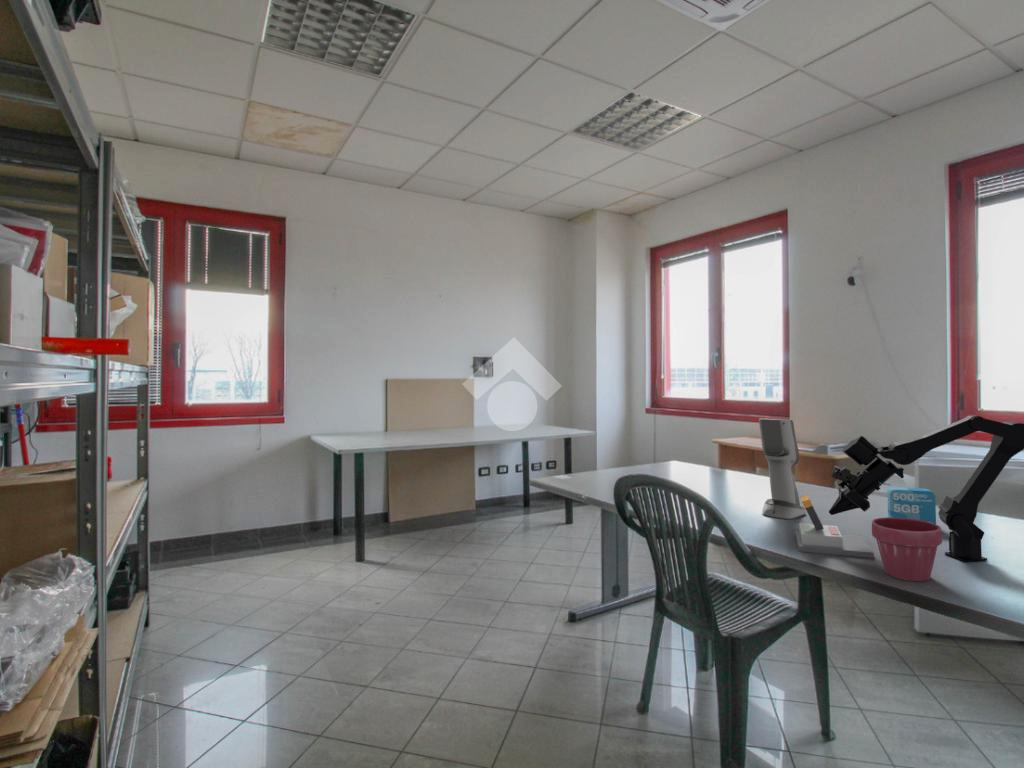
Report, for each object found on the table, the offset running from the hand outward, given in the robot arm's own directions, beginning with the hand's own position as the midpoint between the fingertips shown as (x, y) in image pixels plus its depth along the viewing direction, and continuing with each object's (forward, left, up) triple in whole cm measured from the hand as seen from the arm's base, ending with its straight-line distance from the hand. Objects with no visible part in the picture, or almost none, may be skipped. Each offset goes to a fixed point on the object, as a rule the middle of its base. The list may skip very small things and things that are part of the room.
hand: (829, 513), depth 157 cm
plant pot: (-24, -4, -10) cm, 26 cm away
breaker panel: (0, 0, -10) cm, 10 cm away
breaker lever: (+1, +2, -5) cm, 5 cm away
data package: (+15, -38, -10) cm, 42 cm away
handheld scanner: (+36, -7, -10) cm, 38 cm away
